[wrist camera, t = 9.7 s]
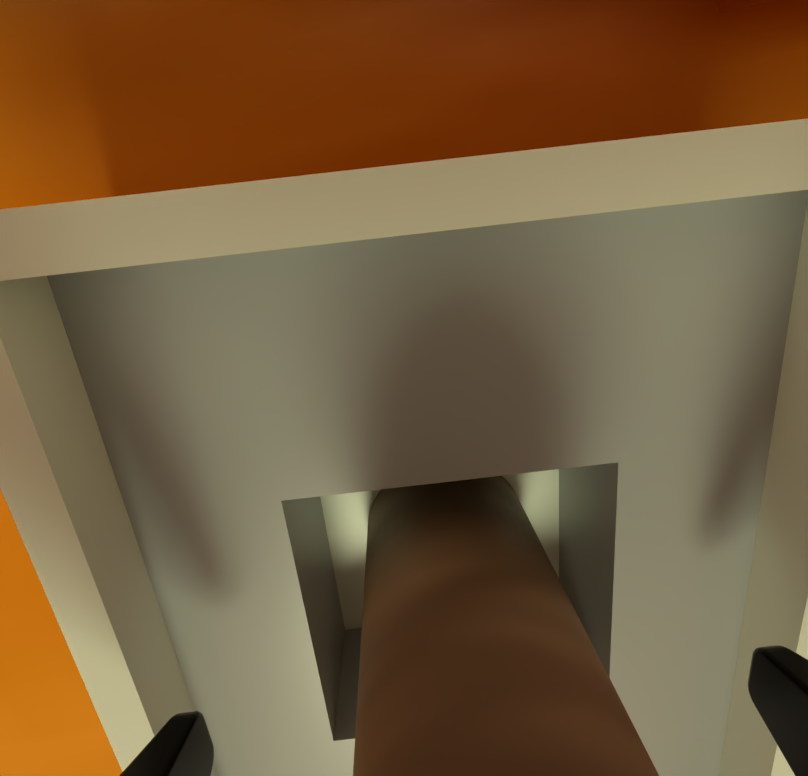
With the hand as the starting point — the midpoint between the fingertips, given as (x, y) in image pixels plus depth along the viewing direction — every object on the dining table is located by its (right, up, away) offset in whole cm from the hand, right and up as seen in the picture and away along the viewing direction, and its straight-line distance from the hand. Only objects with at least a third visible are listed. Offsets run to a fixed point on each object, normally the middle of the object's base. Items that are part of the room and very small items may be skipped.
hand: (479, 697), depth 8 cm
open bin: (0, +2, +5) cm, 6 cm away
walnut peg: (0, +1, +4) cm, 5 cm away
